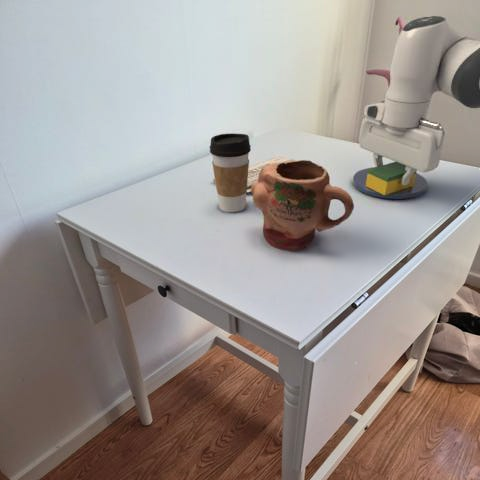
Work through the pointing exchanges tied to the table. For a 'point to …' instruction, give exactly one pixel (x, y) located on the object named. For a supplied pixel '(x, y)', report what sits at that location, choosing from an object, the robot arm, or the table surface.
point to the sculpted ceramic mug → (296, 202)
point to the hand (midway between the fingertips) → (390, 178)
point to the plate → (410, 192)
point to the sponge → (388, 178)
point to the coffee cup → (231, 169)
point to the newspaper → (255, 170)
